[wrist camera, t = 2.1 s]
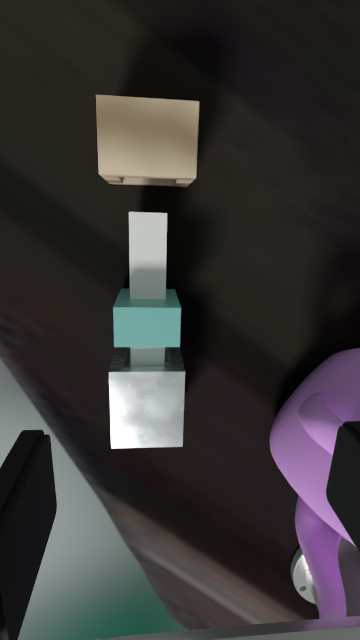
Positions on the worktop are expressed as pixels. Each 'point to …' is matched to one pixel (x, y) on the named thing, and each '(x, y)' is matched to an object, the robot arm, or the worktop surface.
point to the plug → (147, 295)
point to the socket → (147, 140)
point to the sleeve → (146, 401)
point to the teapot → (318, 466)
